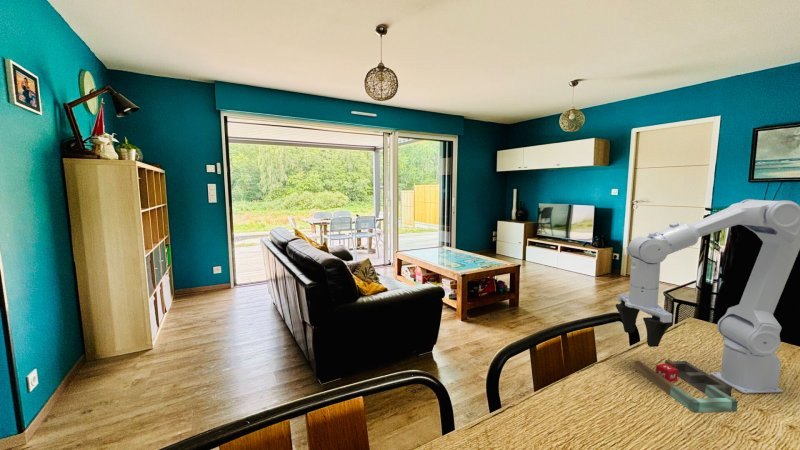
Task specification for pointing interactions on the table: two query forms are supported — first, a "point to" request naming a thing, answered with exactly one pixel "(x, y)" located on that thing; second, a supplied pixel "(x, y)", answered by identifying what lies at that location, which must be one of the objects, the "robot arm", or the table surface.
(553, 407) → the table surface
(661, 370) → the red letter block
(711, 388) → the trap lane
